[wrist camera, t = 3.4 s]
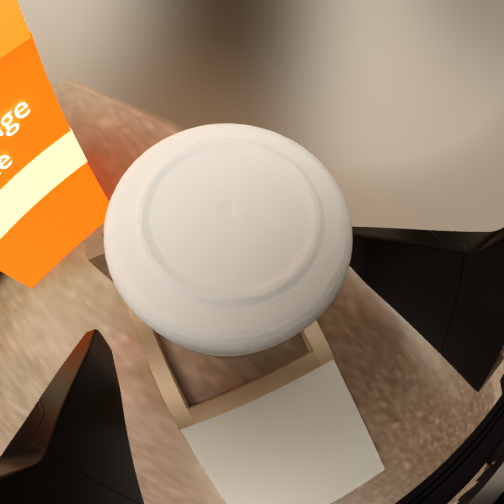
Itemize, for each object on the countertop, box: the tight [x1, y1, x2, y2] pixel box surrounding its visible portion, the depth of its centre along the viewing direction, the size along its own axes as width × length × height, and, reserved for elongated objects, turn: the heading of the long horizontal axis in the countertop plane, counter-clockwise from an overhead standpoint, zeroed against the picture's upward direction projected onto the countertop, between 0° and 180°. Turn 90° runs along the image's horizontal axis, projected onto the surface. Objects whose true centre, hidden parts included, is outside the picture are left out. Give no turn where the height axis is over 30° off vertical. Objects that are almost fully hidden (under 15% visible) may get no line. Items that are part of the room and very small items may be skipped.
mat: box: [181, 359, 385, 504], centre depth 14 cm, size 10×10×1 cm
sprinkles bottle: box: [103, 124, 353, 358], centre depth 11 cm, size 5×5×14 cm
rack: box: [84, 234, 335, 430], centre depth 14 cm, size 10×10×6 cm
